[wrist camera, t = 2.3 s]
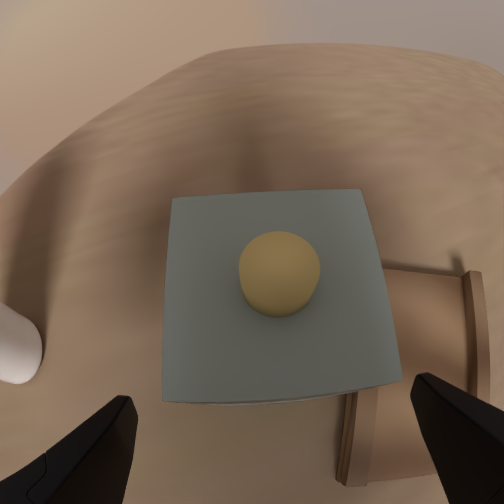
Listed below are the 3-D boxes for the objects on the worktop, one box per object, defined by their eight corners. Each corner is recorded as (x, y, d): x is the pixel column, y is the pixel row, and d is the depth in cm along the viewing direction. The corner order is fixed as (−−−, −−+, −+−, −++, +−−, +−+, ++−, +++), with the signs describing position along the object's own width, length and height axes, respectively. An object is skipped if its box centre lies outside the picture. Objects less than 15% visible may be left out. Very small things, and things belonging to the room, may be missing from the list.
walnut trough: (467, 464, 14) (484, 466, 12) (335, 479, 15) (344, 486, 13) (468, 282, 20) (482, 272, 19) (352, 270, 21) (360, 257, 19)
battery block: (310, 399, 17) (419, 376, 5) (225, 405, 17) (149, 399, 5) (302, 321, 20) (368, 169, 7) (222, 326, 20) (165, 178, 7)
